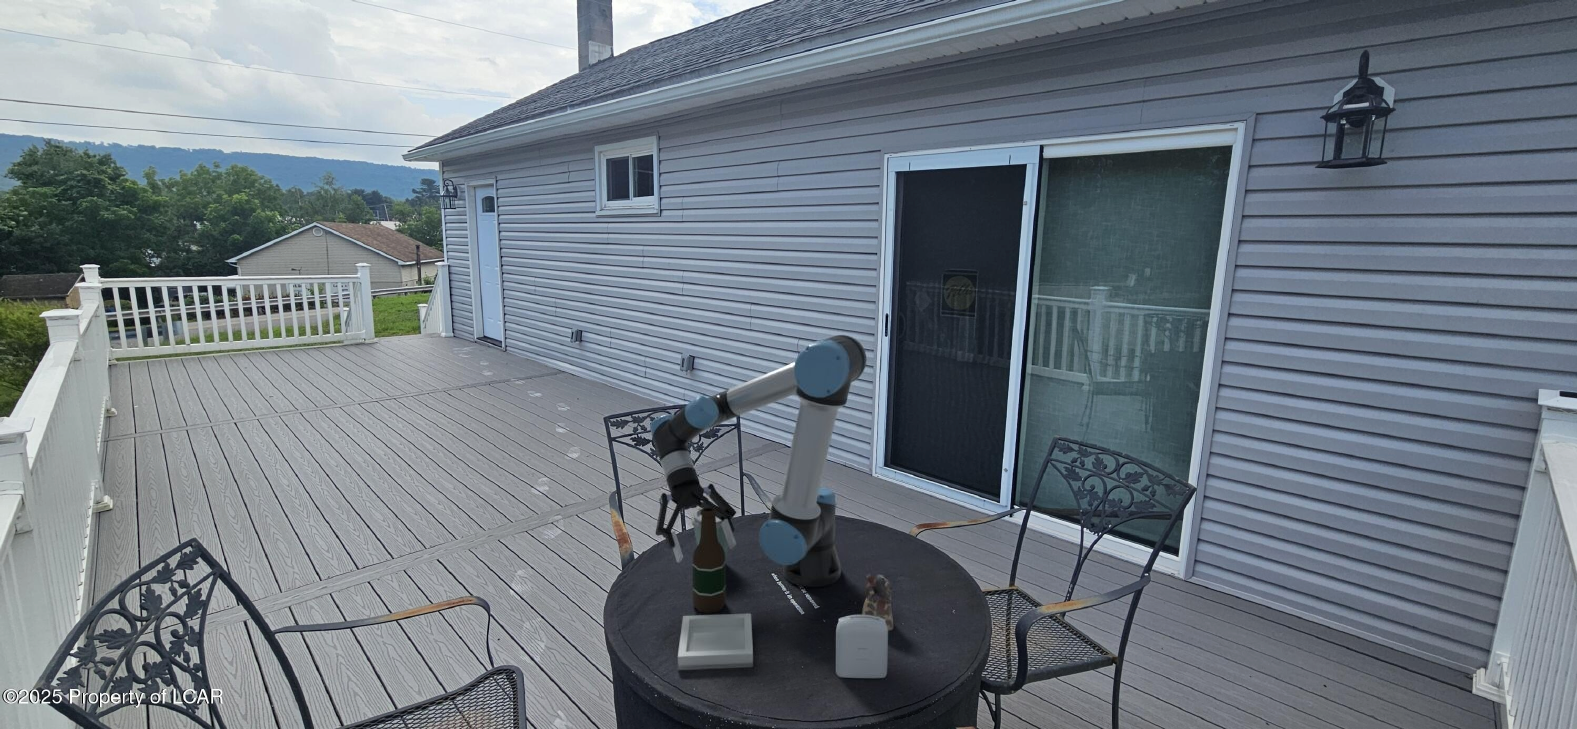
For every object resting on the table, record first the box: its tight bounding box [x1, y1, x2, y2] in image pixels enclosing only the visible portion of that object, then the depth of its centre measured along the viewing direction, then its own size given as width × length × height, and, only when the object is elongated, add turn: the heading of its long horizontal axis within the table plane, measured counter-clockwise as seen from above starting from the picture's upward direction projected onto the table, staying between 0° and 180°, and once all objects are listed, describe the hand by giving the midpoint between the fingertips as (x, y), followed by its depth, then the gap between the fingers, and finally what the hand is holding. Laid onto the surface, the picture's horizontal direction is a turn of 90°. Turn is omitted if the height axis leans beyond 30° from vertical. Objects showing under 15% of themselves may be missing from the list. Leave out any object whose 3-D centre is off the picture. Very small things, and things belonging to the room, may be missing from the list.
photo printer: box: [835, 614, 889, 679], centre depth 132 cm, size 10×4×12 cm, turn 88°
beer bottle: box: [691, 507, 727, 614], centre depth 156 cm, size 8×8×24 cm
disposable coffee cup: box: [690, 507, 733, 560], centre depth 177 cm, size 11×11×15 cm
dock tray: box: [677, 613, 754, 671], centre depth 142 cm, size 15×15×3 cm
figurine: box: [861, 573, 894, 632], centre depth 150 cm, size 7×7×12 cm
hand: (707, 553), depth 156 cm, fingers open, 13 cm apart
